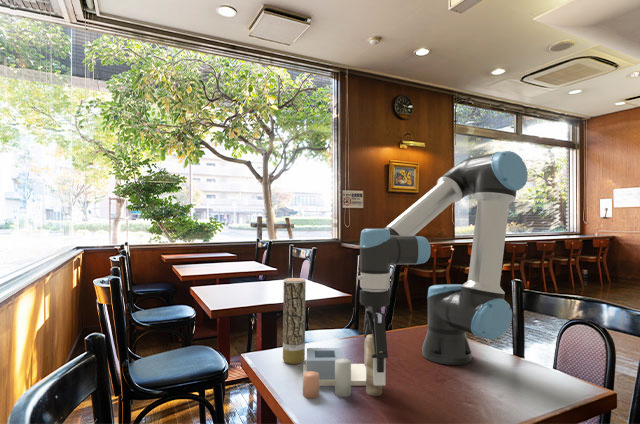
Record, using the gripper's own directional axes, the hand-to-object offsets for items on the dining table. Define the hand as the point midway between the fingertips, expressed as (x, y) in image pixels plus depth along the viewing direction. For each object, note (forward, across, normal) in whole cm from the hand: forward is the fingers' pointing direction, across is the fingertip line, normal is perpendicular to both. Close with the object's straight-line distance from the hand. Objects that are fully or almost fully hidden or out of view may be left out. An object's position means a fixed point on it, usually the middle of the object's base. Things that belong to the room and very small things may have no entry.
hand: (374, 373), depth 96 cm
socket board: (+5, -10, -9) cm, 14 cm away
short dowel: (+5, +1, -16) cm, 17 cm away
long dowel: (+5, 0, 0) cm, 5 cm away
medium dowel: (+5, 0, -8) cm, 9 cm away
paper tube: (+5, -22, -21) cm, 31 cm away
